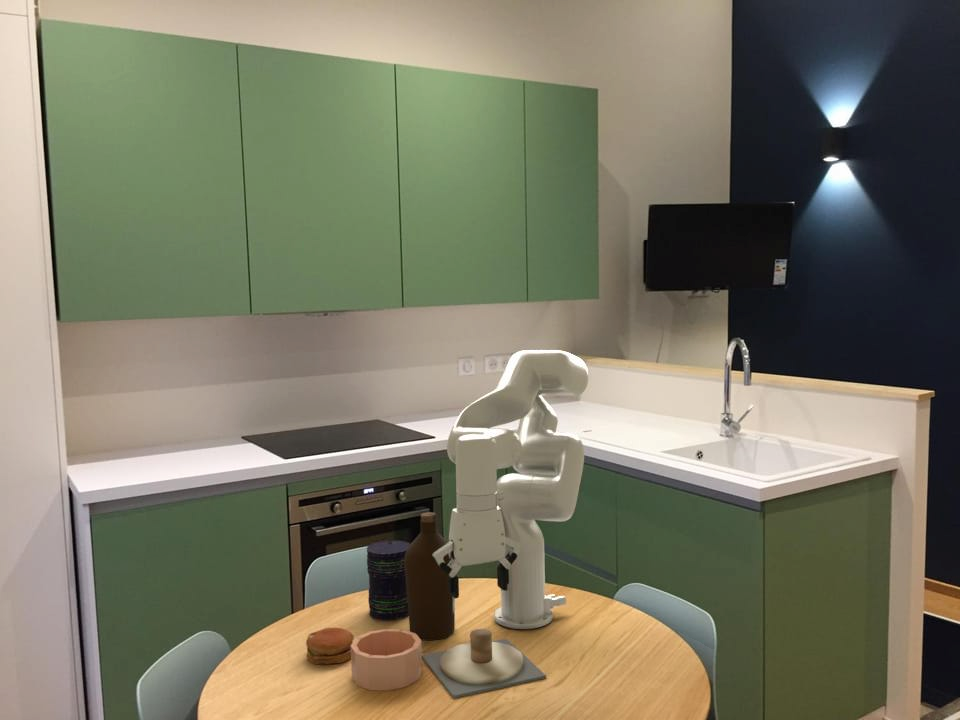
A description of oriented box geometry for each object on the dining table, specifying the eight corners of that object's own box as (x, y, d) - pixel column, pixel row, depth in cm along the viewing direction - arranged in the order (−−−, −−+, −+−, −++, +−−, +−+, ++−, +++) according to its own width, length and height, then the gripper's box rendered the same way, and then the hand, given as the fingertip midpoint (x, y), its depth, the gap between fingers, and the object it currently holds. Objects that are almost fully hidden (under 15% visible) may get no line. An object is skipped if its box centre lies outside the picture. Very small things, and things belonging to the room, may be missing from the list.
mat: (506, 640, 169) (506, 638, 169) (546, 678, 152) (546, 675, 152) (421, 657, 162) (421, 655, 162) (453, 698, 146) (453, 695, 146)
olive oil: (414, 645, 168) (410, 523, 166) (401, 626, 178) (397, 511, 176) (464, 636, 172) (461, 517, 170) (448, 618, 182) (445, 505, 180)
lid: (503, 641, 168) (502, 611, 167) (537, 674, 153) (536, 641, 153) (429, 656, 162) (428, 625, 161) (457, 691, 147) (456, 657, 147)
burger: (358, 661, 162) (357, 638, 161) (310, 670, 159) (308, 646, 158) (349, 642, 171) (348, 620, 171) (303, 649, 168) (302, 627, 168)
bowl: (409, 654, 164) (408, 624, 163) (430, 681, 152) (429, 649, 152) (346, 666, 159) (345, 636, 159) (362, 695, 148) (361, 663, 147)
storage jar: (411, 620, 181) (408, 553, 180) (365, 621, 181) (363, 554, 180) (415, 603, 191) (413, 539, 190) (372, 604, 191) (369, 540, 190)
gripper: (511, 492, 161) (512, 580, 162) (426, 502, 155) (428, 592, 156) (527, 500, 154) (529, 591, 155) (439, 511, 148) (441, 605, 149)
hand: (478, 592), depth 156 cm, fingers open, 9 cm apart
